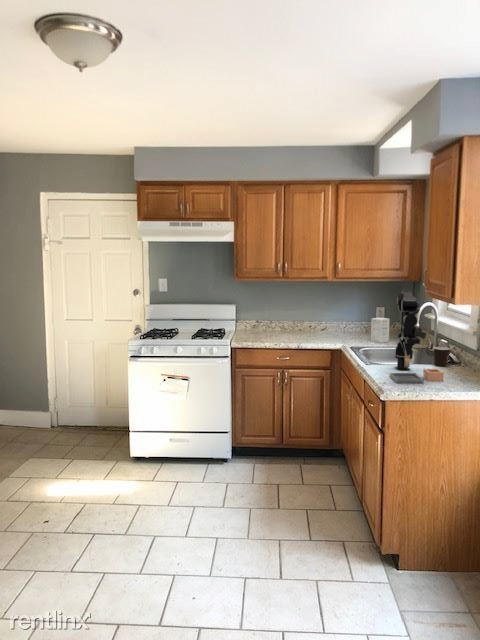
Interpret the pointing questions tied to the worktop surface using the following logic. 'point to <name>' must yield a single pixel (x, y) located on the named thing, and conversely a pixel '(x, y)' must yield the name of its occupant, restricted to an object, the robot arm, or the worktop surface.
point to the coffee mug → (441, 356)
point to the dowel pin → (407, 360)
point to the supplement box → (380, 330)
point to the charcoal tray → (406, 378)
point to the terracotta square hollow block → (433, 374)
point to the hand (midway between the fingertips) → (407, 354)
